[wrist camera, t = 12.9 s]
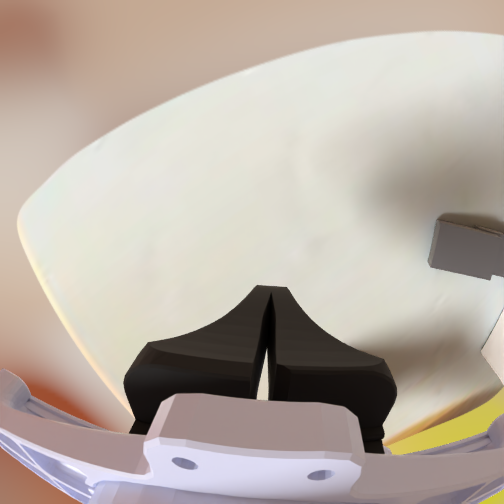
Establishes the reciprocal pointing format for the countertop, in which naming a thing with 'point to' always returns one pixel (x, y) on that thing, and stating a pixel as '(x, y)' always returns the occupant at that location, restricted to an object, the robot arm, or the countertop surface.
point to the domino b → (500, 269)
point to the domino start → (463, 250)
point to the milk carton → (496, 348)
